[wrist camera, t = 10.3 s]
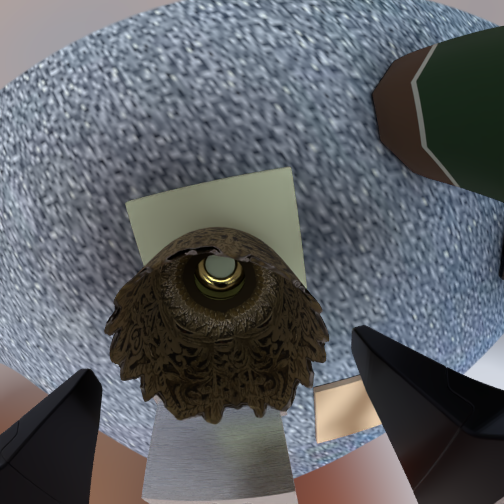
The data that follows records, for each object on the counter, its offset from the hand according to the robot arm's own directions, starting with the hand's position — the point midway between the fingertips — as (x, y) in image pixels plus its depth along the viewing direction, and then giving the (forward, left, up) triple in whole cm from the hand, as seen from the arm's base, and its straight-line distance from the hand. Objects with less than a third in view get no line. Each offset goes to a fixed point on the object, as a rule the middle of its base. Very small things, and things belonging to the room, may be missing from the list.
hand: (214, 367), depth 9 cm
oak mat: (-9, +17, -9) cm, 21 cm away
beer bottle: (-14, -7, -9) cm, 18 cm away
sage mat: (0, 0, -9) cm, 9 cm away
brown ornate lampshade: (0, 0, -8) cm, 8 cm away
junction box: (+3, +12, -9) cm, 15 cm away
